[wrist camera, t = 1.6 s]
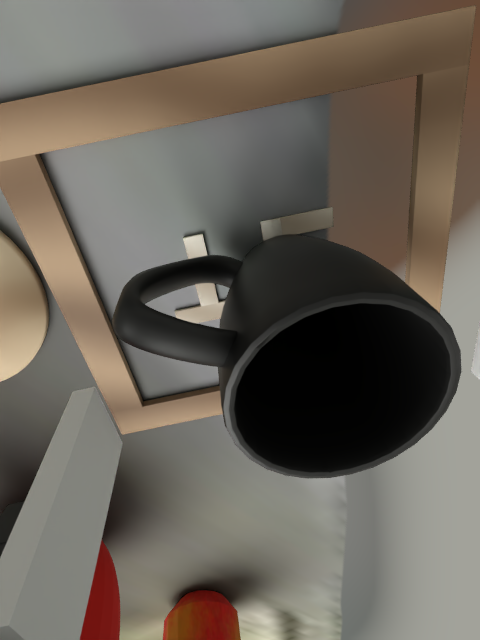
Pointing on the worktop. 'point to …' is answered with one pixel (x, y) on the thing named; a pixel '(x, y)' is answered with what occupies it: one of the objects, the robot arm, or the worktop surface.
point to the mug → (307, 353)
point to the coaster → (19, 309)
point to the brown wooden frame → (217, 100)
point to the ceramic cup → (103, 601)
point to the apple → (202, 618)
